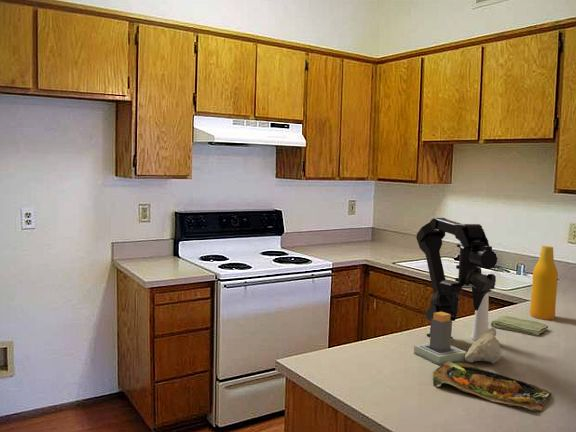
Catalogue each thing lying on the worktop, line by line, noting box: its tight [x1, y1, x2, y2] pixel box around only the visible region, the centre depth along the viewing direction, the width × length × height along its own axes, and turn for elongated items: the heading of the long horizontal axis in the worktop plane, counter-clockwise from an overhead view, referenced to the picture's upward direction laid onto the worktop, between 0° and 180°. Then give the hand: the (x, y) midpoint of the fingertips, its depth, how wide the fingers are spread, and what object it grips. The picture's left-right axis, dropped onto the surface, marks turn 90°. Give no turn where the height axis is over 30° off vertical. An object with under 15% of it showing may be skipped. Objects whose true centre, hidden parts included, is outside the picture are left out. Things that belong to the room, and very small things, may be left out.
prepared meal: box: [432, 362, 552, 412], centre depth 141 cm, size 28×4×18 cm
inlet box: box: [413, 342, 467, 366], centre depth 165 cm, size 11×11×3 cm
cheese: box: [464, 327, 502, 364], centre depth 163 cm, size 15×7×15 cm
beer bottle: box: [529, 245, 559, 321], centre depth 215 cm, size 9×9×29 cm
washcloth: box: [490, 315, 549, 337], centre depth 199 cm, size 13×18×3 cm
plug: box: [429, 312, 453, 353], centre depth 164 cm, size 4×4×13 cm
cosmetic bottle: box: [470, 293, 489, 342], centre depth 183 cm, size 6×6×22 cm
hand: (465, 311), depth 170 cm, fingers open, 9 cm apart
